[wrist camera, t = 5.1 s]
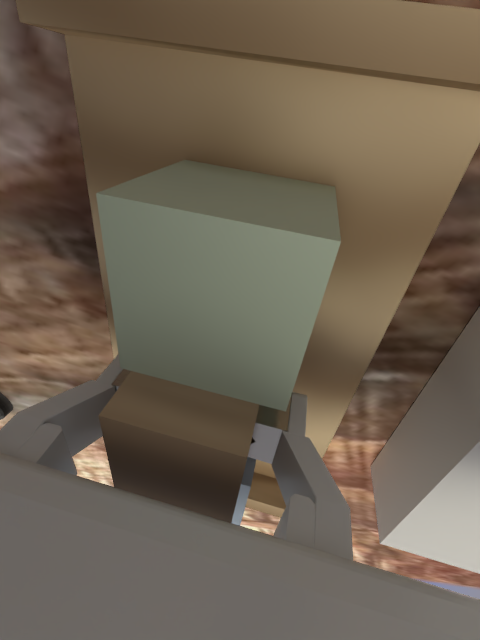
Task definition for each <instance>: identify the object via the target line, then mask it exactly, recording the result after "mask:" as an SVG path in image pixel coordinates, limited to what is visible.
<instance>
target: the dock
mask: <svg viewBox="0 0 480 640" xmlns="http://www.w3.org/2000/svg"><path fill="white" fill-rule="evenodd" d="M371 474H372V483H373V491H374V499H375V507H376V515H377V524H378V532H379V540H380V544H383V545H387V546H390V547H393V548H397V549H400V550H403V551H406V552H410V553H413V554H416V555H420V556H423V557H426V558H430V559H433V560H436V561H440V562H443V563H446V564H450V565H453V566H456V567H459V568H463V569H466V570H469V571H473V572H476V573H479V574H480V307H479V308H478V309H477V311H476V312H475V314H474V315H473V317H472V318H471V320H470V321H469V323H468V324H467V326H466V327H465V329H464V330H463V331H462V333H461V334H460V336H459V337H458V339H457V340H456V342H455V343H454V345H453V346H452V348H451V349H450V351H449V352H448V353H447V355H446V356H445V358H444V359H443V361H442V362H441V364H440V365H439V367H438V368H437V370H436V371H435V373H434V374H433V375H432V377H431V378H430V380H429V381H428V383H427V384H426V386H425V387H424V389H423V390H422V392H421V393H420V395H419V396H418V397H417V399H416V400H415V402H414V403H413V405H412V406H411V408H410V409H409V411H408V412H407V414H406V415H405V417H404V418H403V419H402V421H401V422H400V424H399V425H398V427H397V428H396V430H395V431H394V433H393V434H392V436H391V437H390V439H389V440H388V442H387V443H386V444H385V446H384V447H383V449H382V450H381V452H380V453H379V455H378V456H377V458H376V459H375V461H374V462H373V464H372V465H371Z"/></svg>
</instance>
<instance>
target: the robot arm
mask: <svg viewBox="0 0 480 640" xmlns="http://www.w3.org/2000/svg"><path fill="white" fill-rule="evenodd" d="M130 372H131V371H130V370H126V369H122V368H120V361H119V354H118V355H117V356H116V357H115V359H114V360H113V361H112V362H111V363H110V364H109V366H108V367H107V368H106V369H105V370H104V372H103V373H102V374H101V375H100V376H99V378H98V379H97V380H96V381H94V380H90V381H88V382H86V383H84V384H81V385H79V386H77V387H74V388H72V389H70V390H68V391H65V392H63V393H61V394H58V395H56V396H54V397H52V398H49V399H47V400H45V401H43V402H40V403H38V404H36V405H33V406H31V407H29V408H27V409H24V410H22V411H20V412H18V413H17V414H16V415H15V416H14V417H13V418H12V419H11V420H10V421H9V422H8V423H7V424H6V425H5V426H4V427H3V428H2V429H1V430H0V640H480V599H476V598H473V597H470V596H467V595H464V594H460V593H457V592H454V591H451V590H447V589H444V588H441V587H437V586H434V585H431V584H428V583H424V582H421V581H418V580H415V579H411V578H408V577H405V576H402V575H398V574H395V573H392V572H388V571H385V570H382V569H379V568H375V567H372V566H369V565H366V564H362V563H359V562H356V561H353V551H352V533H351V516H350V508H349V506H348V504H347V502H346V501H345V499H344V497H343V495H342V494H341V492H340V490H339V488H338V487H337V485H336V483H335V481H334V480H333V478H332V476H331V474H330V473H329V471H328V469H327V467H326V466H325V464H324V462H323V460H322V459H321V457H320V455H319V453H318V452H317V450H316V448H315V447H314V445H313V443H312V441H311V440H310V438H308V437H305V431H306V414H307V395H303V394H299V393H295V392H292V394H291V397H290V401H289V404H288V407H287V410H286V412H285V411H282V410H278V409H274V408H270V407H266V406H263V405H259V409H258V413H257V417H256V422H255V426H254V431H253V435H252V440H251V444H250V448H249V453H248V457H250V458H253V459H257V460H260V461H263V462H266V463H270V464H272V465H271V466H272V468H273V471H274V474H275V477H276V479H277V482H278V485H279V488H280V491H281V493H282V496H283V499H284V502H285V504H286V508H285V510H284V512H283V515H282V517H281V519H280V521H279V524H278V526H277V528H276V530H275V533H274V536H271V535H268V534H265V533H261V532H258V531H255V530H252V529H248V528H245V527H242V526H239V525H235V524H232V523H229V522H226V521H222V520H219V519H216V518H213V517H209V516H206V515H203V514H200V513H196V512H193V511H190V510H187V509H183V508H180V507H177V506H174V505H170V504H167V503H164V502H161V501H157V500H154V499H151V498H148V497H144V496H141V495H138V494H135V493H131V492H128V491H125V490H122V489H118V488H115V487H112V486H109V485H105V484H102V483H99V482H95V481H92V480H89V479H86V478H82V477H79V476H76V475H77V469H76V467H75V464H74V461H73V458H72V456H74V455H75V454H77V453H78V452H80V451H81V450H83V449H84V448H86V447H87V446H89V445H90V444H91V443H93V442H94V441H96V440H97V439H99V438H100V437H102V436H103V434H102V429H101V425H100V421H99V416H98V415H99V414H100V413H101V411H102V410H103V409H104V407H105V406H106V405H107V403H108V402H109V401H110V399H111V398H112V396H113V395H114V394H115V392H116V391H117V390H118V388H119V387H120V386H121V384H122V383H123V382H124V380H125V379H126V377H127V376H128V375H129V373H130Z"/></svg>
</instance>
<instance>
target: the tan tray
mask: <svg viewBox="0 0 480 640" xmlns="http://www.w3.org/2000/svg"><path fill="white" fill-rule="evenodd" d="M15 2H16V6H17V11H18V16H19V21H20V22H21V23H25V24H29V25H32V26H36V27H40V28H43V29H47V30H51V31H54V32H58V33H61V34H64V36H65V42H66V49H67V55H68V62H69V69H70V75H71V82H72V88H73V95H74V101H75V108H76V114H77V121H78V127H79V134H80V140H81V147H82V154H83V160H84V167H85V173H86V180H87V186H88V193H89V199H90V206H91V212H92V219H93V226H94V232H95V239H96V245H97V252H98V258H99V265H100V271H101V278H102V284H103V291H104V297H105V304H106V311H107V317H108V324H109V330H110V337H111V343H112V350H113V356H114V359H115V357H116V356H117V355H118V347H117V340H116V333H115V326H114V318H113V311H112V304H111V297H110V290H109V283H108V275H107V268H106V261H105V254H104V247H103V240H102V232H101V225H100V218H99V211H98V204H97V197H96V193H98V192H100V191H103V190H106V189H108V188H111V187H114V186H116V185H119V184H122V183H124V182H127V181H130V180H132V179H135V178H138V177H140V176H143V175H146V174H148V173H151V172H153V171H156V170H159V169H161V168H164V167H167V166H169V165H172V164H175V163H177V162H180V161H183V160H189V161H195V162H200V163H206V164H212V165H217V166H223V167H228V168H234V169H240V170H245V171H251V172H256V173H262V174H268V175H273V176H279V177H284V178H290V179H296V180H301V181H307V182H312V183H318V184H324V185H329V186H335V190H336V199H337V209H338V218H339V228H340V237H341V243H340V246H339V249H338V253H337V256H336V259H335V262H334V265H333V268H332V271H331V274H330V277H329V280H328V283H327V286H326V290H325V293H324V296H323V299H322V302H321V305H320V308H319V311H318V314H317V317H316V320H315V323H314V327H313V330H312V333H311V336H310V339H309V342H308V345H307V348H306V351H305V354H304V357H303V360H302V364H301V367H300V370H299V373H298V376H297V379H296V382H295V385H294V388H293V391H292V392H295V393H299V394H303V395H307V414H306V431H305V437H308V438H310V440H311V441H312V443H313V445H314V447H315V448H316V450H317V452H318V453H319V455H320V457H321V459H322V458H323V456H324V454H325V452H326V450H327V448H328V446H329V444H330V442H331V440H332V438H333V436H334V434H335V432H336V430H337V428H338V426H339V424H340V422H341V420H342V418H343V416H344V414H345V412H346V410H347V408H348V406H349V404H350V402H351V400H352V398H353V396H354V394H355V392H356V390H357V388H358V386H359V384H360V382H361V380H362V378H363V376H364V374H365V372H366V370H367V368H368V366H369V364H370V362H371V360H372V358H373V356H374V354H375V352H376V350H377V348H378V346H379V344H380V342H381V340H382V338H383V336H384V334H385V332H386V330H387V328H388V326H389V324H390V322H391V320H392V318H393V316H394V314H395V312H396V310H397V308H398V306H399V304H400V302H401V300H402V298H403V296H404V294H405V292H406V290H407V288H408V286H409V284H410V282H411V280H412V278H413V276H414V274H415V272H416V270H417V268H418V265H419V263H420V261H421V259H422V257H423V255H424V253H425V251H426V249H427V247H428V245H429V243H430V241H431V239H432V237H433V235H434V233H435V231H436V229H437V227H438V225H439V223H440V221H441V219H442V217H443V215H444V213H445V211H446V209H447V207H448V205H449V203H450V201H451V199H452V197H453V195H454V193H455V191H456V189H457V187H458V185H459V183H460V181H461V179H462V177H463V175H464V173H465V171H466V169H467V167H468V165H469V163H470V161H471V159H472V157H473V155H474V153H475V151H476V149H477V147H478V145H479V143H480V9H474V8H465V7H456V6H447V5H438V4H429V3H419V2H410V1H401V0H15ZM258 409H259V404H255V403H251V402H248V401H244V400H240V399H236V398H232V397H229V396H225V395H221V394H217V393H213V392H210V391H206V390H202V389H198V388H194V387H191V386H187V385H183V384H179V383H175V382H172V381H168V380H164V379H160V378H157V377H153V376H149V375H145V374H141V373H138V372H134V371H131V372H130V373H129V375H128V376H127V377H126V379H125V380H124V382H123V383H122V384H121V386H120V387H119V388H118V390H117V391H116V392H115V394H114V395H113V396H112V398H111V399H110V401H109V402H108V403H107V405H106V406H105V407H104V409H103V410H102V411H101V413H100V414H99V415H98V416H99V421H100V425H101V429H102V434H103V438H104V443H105V447H106V452H107V456H108V461H109V465H110V470H111V474H112V479H113V483H114V487H115V488H118V489H122V490H125V491H128V492H131V493H135V494H138V495H141V496H144V497H148V498H151V499H154V500H157V501H161V502H164V503H167V504H170V505H174V506H177V507H180V508H183V509H187V510H190V511H193V512H196V513H200V514H203V515H206V516H209V517H213V518H216V519H219V520H222V521H226V522H229V523H232V519H233V514H234V510H235V506H236V502H237V498H238V494H239V490H240V486H241V482H242V478H243V474H244V470H245V465H246V461H247V457H248V453H249V448H250V444H251V440H252V435H253V431H254V426H255V422H256V417H257V413H258ZM271 465H272V464H270V463H266V462H263V461H260V460H257V459H256V464H255V469H254V474H253V479H252V484H251V488H250V492H249V495H248V499H247V502H246V506H245V507H247V508H250V509H253V510H257V511H260V512H263V513H267V514H270V515H273V516H276V517H280V518H281V517H282V515H283V512H284V510H285V508H286V504H285V502H284V499H283V496H282V493H281V491H280V488H279V485H278V482H277V479H276V477H275V474H274V471H273V468H272V466H271Z"/></svg>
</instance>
